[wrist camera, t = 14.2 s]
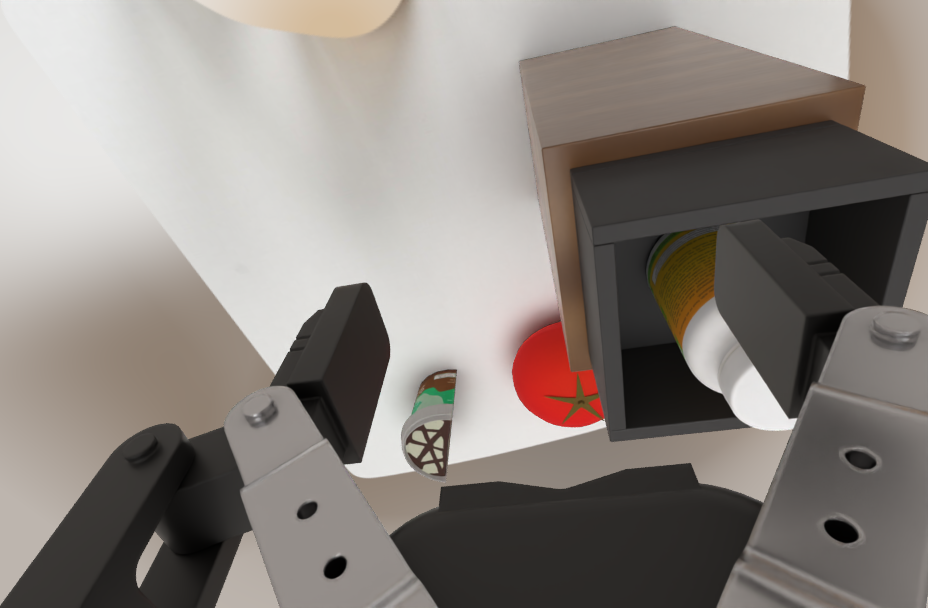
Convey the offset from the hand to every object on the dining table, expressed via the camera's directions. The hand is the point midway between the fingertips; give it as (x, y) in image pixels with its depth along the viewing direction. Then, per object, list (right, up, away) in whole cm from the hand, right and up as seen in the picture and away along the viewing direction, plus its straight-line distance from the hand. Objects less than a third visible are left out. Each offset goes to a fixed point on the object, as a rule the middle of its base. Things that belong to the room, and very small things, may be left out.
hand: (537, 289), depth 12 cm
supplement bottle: (+10, +2, +14) cm, 18 cm away
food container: (-6, -13, +59) cm, 61 cm away
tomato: (+11, -6, +53) cm, 55 cm away
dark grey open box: (+10, +2, +15) cm, 18 cm away
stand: (+12, +17, +38) cm, 44 cm away
